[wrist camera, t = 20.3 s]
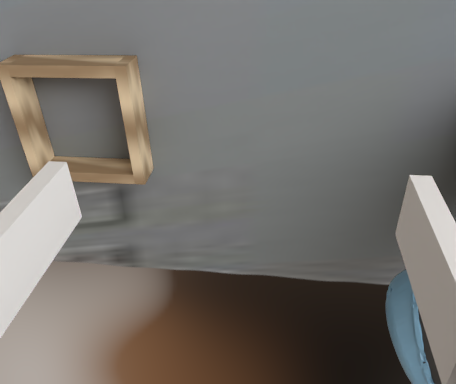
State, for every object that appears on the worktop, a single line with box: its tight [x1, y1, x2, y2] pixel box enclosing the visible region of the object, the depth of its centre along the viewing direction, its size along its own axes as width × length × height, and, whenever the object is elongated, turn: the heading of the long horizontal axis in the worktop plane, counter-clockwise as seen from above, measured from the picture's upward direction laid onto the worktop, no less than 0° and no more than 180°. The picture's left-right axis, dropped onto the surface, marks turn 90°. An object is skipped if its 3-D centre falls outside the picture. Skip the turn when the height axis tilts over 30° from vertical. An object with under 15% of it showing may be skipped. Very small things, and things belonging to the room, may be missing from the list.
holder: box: [0, 55, 153, 184], centre depth 47 cm, size 13×13×4 cm
